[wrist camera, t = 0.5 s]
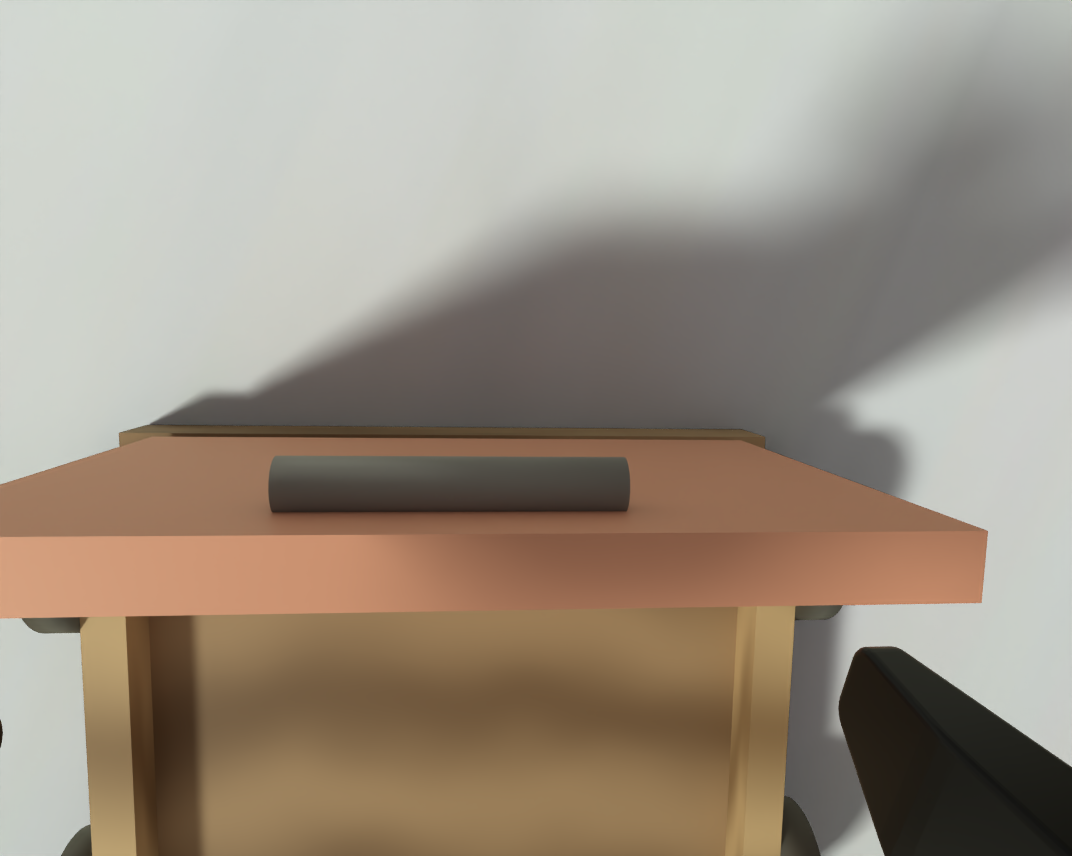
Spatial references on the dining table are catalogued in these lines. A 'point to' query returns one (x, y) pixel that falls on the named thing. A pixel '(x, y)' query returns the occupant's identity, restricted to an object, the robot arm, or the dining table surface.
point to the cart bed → (440, 721)
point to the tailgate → (463, 530)
